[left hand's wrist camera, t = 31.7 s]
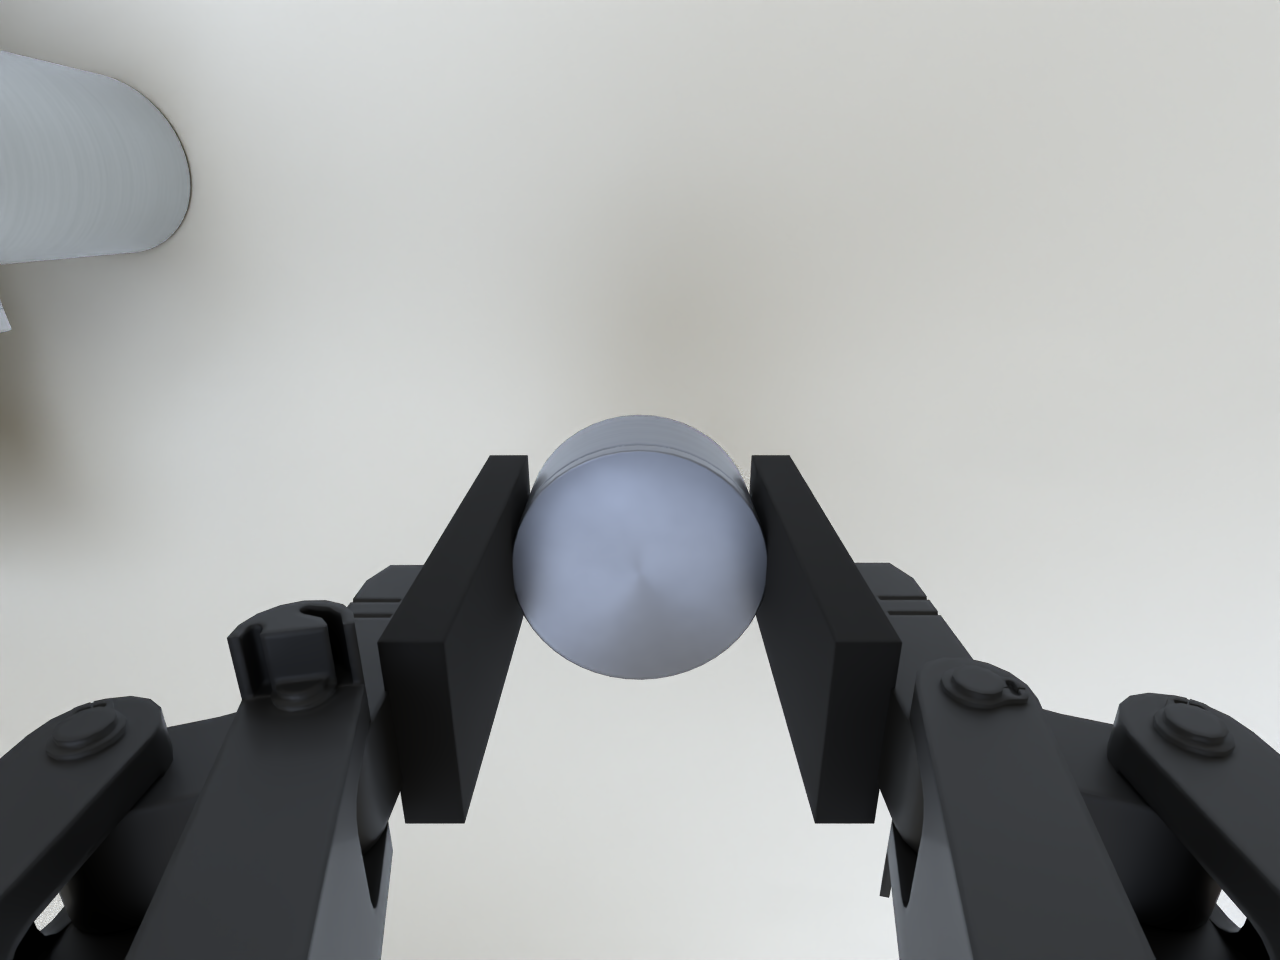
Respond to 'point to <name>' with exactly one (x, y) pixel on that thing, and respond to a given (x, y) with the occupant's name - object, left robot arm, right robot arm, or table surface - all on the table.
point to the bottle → (83, 165)
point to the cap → (639, 549)
